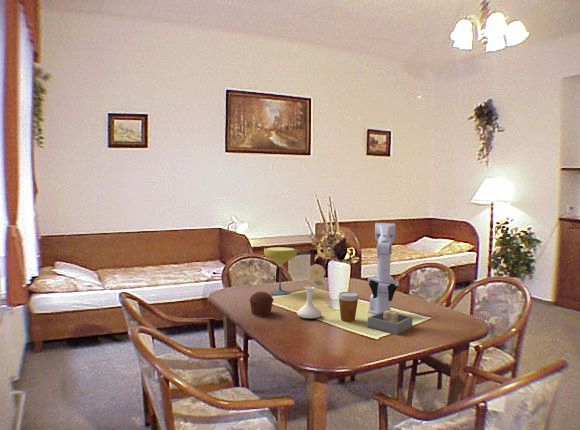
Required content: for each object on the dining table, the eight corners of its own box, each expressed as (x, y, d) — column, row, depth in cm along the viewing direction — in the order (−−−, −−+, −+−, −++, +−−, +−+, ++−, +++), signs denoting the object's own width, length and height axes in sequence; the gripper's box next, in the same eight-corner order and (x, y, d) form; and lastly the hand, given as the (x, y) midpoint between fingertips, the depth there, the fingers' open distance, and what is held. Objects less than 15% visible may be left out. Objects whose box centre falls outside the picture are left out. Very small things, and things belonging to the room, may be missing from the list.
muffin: (244, 313, 227) (244, 292, 226) (261, 308, 235) (261, 288, 234) (261, 318, 219) (261, 296, 218) (278, 313, 227) (278, 292, 226)
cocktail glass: (276, 287, 280) (277, 244, 278) (302, 292, 269) (303, 248, 267) (256, 293, 265) (257, 248, 263) (283, 298, 255) (283, 251, 253)
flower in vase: (293, 318, 219) (294, 264, 217) (301, 312, 230) (302, 260, 228) (320, 322, 214) (322, 266, 212) (327, 315, 225) (329, 262, 223)
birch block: (383, 325, 208) (383, 311, 208) (388, 323, 212) (388, 309, 211) (392, 327, 205) (392, 314, 205) (397, 325, 209) (397, 311, 208)
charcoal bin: (367, 327, 208) (367, 317, 207) (383, 320, 218) (384, 310, 218) (397, 334, 199) (397, 324, 198) (412, 327, 210) (412, 316, 209)
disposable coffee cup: (360, 318, 221) (360, 292, 220) (356, 324, 212) (356, 297, 211) (339, 316, 225) (340, 290, 224) (335, 321, 216) (335, 295, 215)
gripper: (364, 268, 216) (363, 298, 217) (394, 272, 206) (392, 303, 207) (372, 266, 221) (371, 295, 222) (401, 270, 212) (400, 300, 213)
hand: (382, 299), depth 215 cm, fingers open, 7 cm apart
